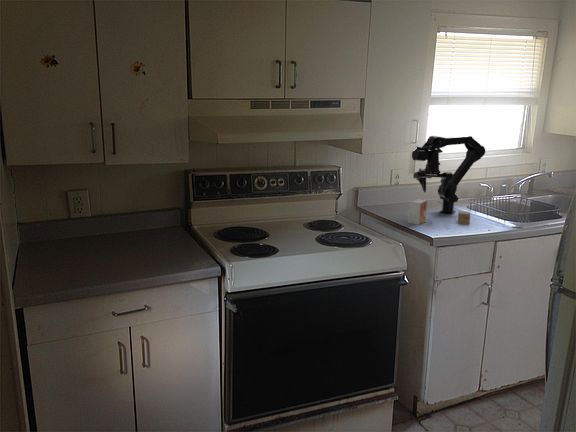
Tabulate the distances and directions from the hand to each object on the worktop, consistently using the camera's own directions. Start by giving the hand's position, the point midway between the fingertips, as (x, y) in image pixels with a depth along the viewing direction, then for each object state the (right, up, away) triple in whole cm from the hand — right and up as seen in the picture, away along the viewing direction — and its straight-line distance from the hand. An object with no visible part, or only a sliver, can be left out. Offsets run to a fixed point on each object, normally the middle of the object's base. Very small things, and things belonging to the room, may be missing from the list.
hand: (433, 192), depth 267 cm
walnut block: (+12, -15, -8) cm, 21 cm away
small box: (-11, -15, -9) cm, 20 cm away
